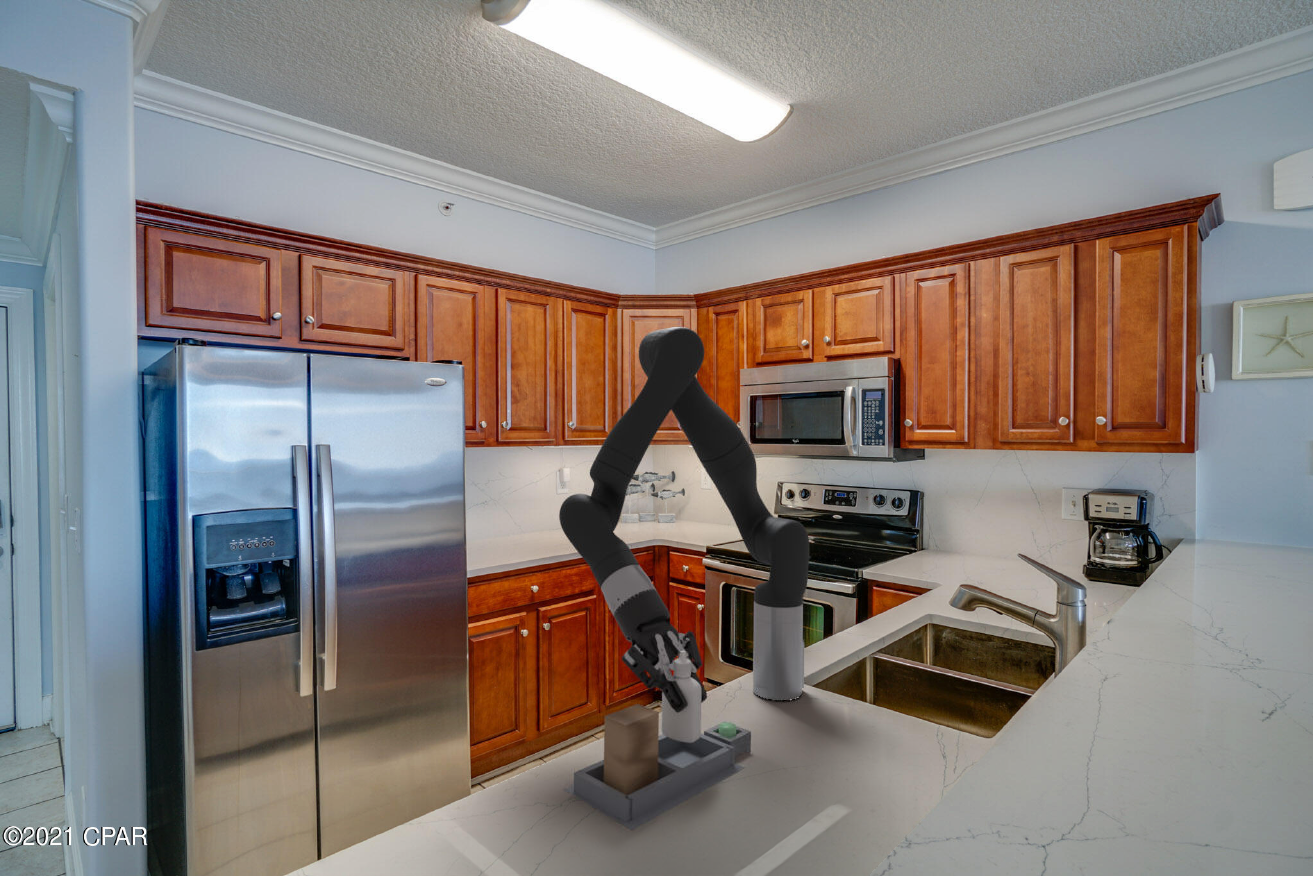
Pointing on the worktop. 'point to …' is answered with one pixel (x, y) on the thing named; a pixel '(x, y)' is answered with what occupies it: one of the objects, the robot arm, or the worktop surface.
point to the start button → (727, 729)
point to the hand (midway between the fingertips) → (692, 704)
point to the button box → (733, 739)
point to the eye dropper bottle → (689, 720)
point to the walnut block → (631, 749)
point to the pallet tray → (659, 780)
